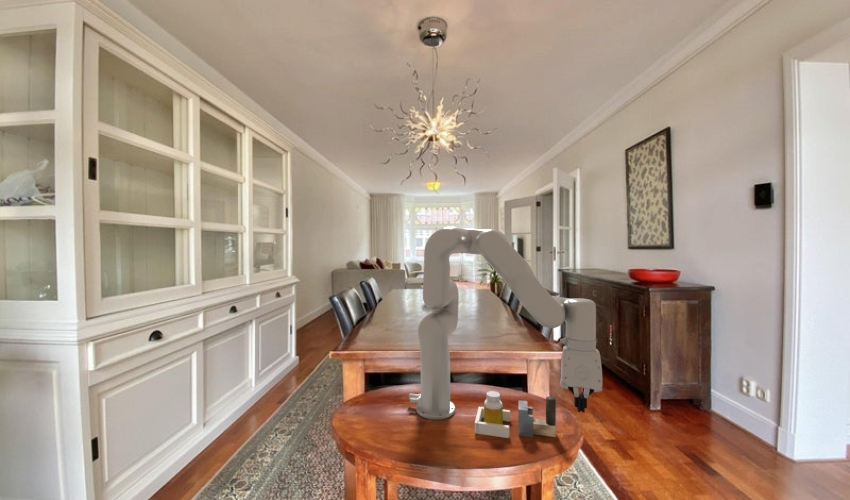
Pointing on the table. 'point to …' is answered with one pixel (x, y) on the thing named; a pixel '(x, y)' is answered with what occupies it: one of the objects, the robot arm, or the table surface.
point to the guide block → (525, 419)
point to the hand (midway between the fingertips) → (580, 409)
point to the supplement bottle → (493, 408)
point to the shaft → (547, 420)
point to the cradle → (492, 425)
